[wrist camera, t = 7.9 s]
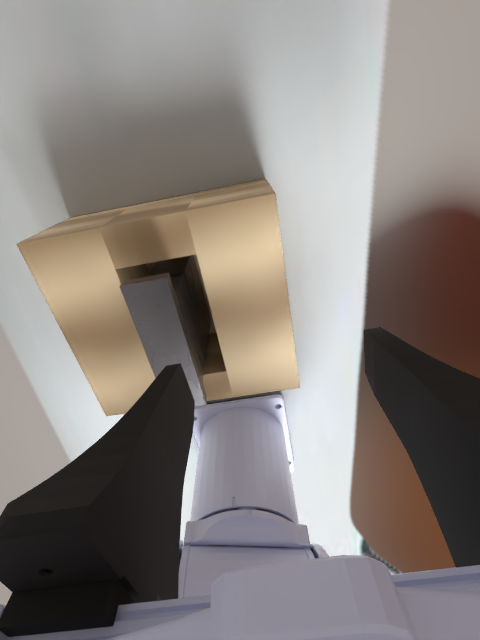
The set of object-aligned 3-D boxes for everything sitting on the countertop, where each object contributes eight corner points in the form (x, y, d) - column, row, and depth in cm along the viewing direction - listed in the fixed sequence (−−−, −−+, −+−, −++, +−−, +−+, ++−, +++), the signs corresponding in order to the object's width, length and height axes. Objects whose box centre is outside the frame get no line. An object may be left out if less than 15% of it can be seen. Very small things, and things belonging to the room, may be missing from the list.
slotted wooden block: (287, 337, 24) (299, 387, 20) (131, 363, 25) (106, 416, 21) (265, 178, 19) (275, 193, 14) (69, 218, 20) (16, 244, 15)
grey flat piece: (214, 333, 23) (206, 404, 17) (186, 337, 23) (168, 410, 17) (188, 233, 20) (166, 277, 13) (155, 239, 20) (119, 286, 14)
